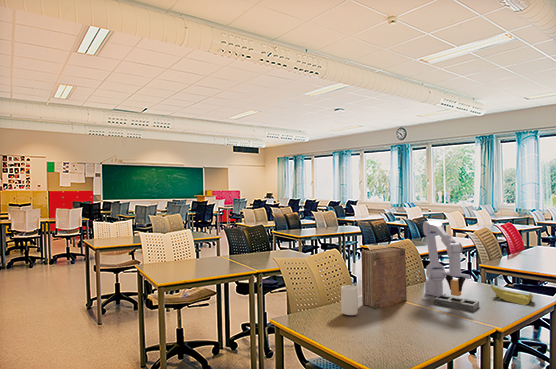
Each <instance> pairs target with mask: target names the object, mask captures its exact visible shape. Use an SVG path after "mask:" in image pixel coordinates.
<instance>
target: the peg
mask: <svg viewBox="0 0 556 369" xmlns="http://www.w3.org/2000/svg"><path fill="white" fill-rule="evenodd" d="M450 296H453V297H460V296H462V291H459V283H458V278H453V279H452V280H451V290H450Z"/></svg>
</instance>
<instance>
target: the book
mask: <svg viewBox="0 0 556 369" xmlns="http://www.w3.org/2000/svg"><path fill="white" fill-rule="evenodd" d="M360 252H361V254H360V255H361V256H360V257H361V261H360V262H361V294H362V295H361V296H362V297H361V298H362V299H361V302H362V306H368V307H371V308H373V309H374V310H379V309H383V308H386V306H387V307H391V306H394V305H397V304H401V303H405V302H407V301H408V299H407V298H408V297H407V272H406V271H407V269H406V268H407V267H406V263H407V262H406V260H407V259H406V248H403V247H396V246H390V247H389V246H387V247H381V248H374V249H365V250H361V251H360ZM382 307H383V308H382Z"/></svg>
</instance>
